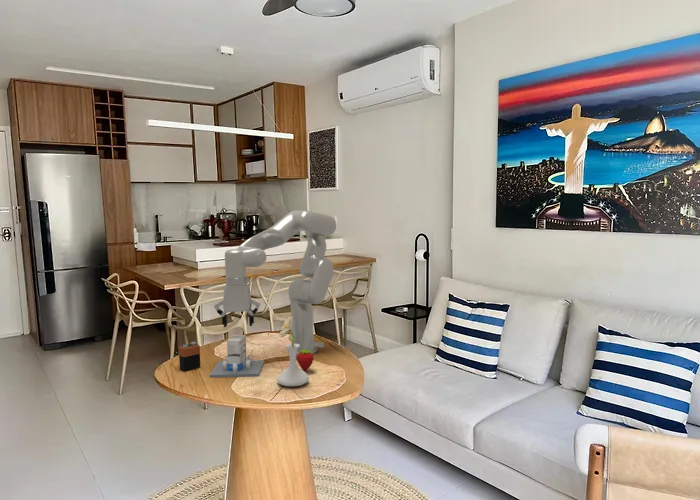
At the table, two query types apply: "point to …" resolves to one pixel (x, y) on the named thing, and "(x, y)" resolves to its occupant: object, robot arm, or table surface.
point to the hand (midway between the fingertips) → (238, 325)
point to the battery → (189, 356)
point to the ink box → (236, 351)
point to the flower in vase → (291, 361)
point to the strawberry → (305, 359)
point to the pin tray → (248, 370)
